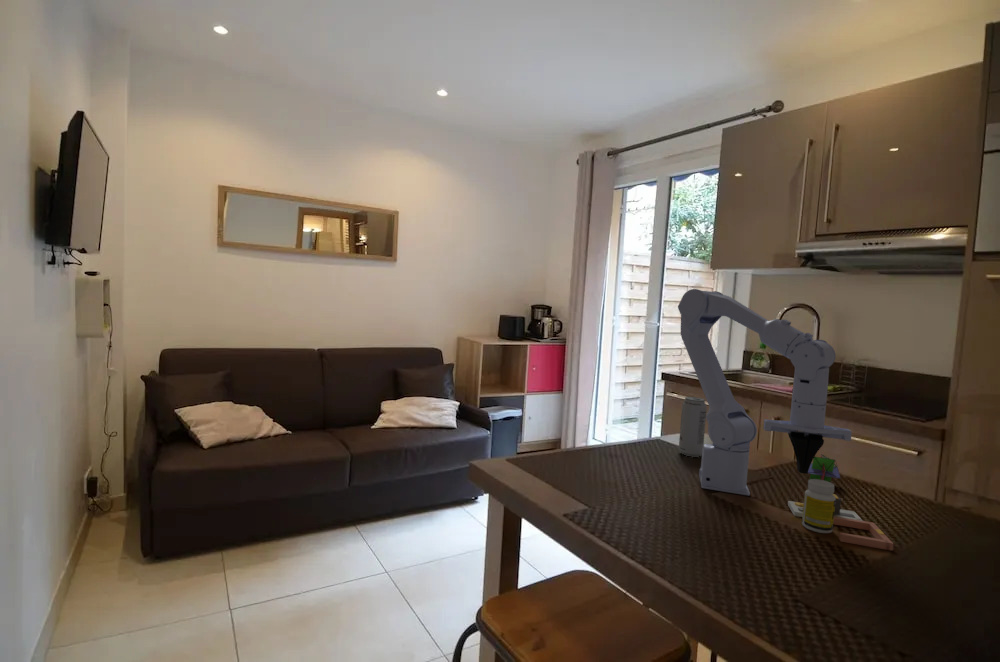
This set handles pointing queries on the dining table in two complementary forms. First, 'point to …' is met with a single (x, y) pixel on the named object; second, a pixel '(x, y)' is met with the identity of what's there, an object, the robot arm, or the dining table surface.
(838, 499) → the block
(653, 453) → the dining table surface
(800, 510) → the panel
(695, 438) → the energy drink can
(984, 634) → the dining table surface
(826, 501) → the supplement bottle
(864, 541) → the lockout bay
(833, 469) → the geometric puzzle
